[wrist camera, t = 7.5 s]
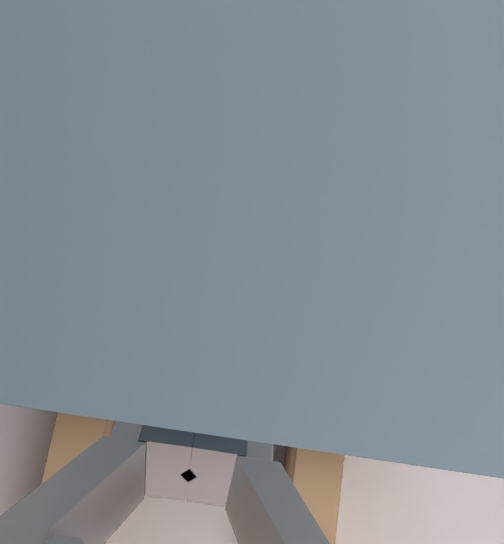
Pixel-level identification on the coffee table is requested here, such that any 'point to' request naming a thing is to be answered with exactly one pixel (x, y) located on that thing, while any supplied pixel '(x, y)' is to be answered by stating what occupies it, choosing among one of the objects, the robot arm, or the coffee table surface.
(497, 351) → the block
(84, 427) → the brown flat open frame
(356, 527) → the coffee table surface
